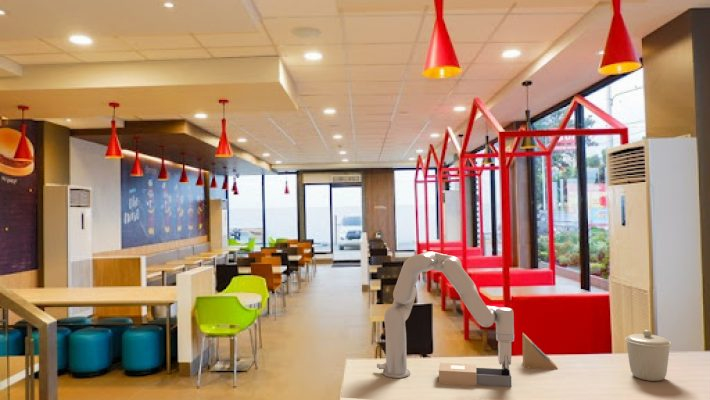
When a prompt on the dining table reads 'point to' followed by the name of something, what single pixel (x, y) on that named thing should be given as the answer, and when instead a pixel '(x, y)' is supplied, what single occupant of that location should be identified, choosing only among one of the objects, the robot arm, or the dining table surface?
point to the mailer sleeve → (457, 374)
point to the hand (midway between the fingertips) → (505, 378)
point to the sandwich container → (535, 356)
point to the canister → (648, 355)
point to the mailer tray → (492, 377)
